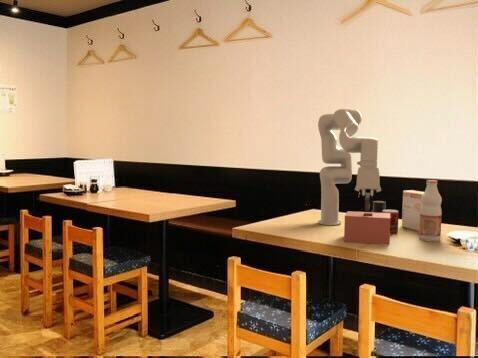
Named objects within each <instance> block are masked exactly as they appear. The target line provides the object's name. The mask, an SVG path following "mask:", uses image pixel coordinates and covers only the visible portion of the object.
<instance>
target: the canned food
mask: <svg viewBox="0 0 478 358" xmlns="http://www.w3.org/2000/svg"><path fill="white" fill-rule="evenodd" d="M383 213H390V235H391V234H392V235H393V234H394V235H395V234H398V231H399V210H397V209H385V210H383Z"/></svg>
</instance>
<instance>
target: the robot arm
mask: <svg viewBox="0 0 478 358" xmlns="http://www.w3.org/2000/svg"><path fill="white" fill-rule="evenodd" d="M362 117H363V116H362V113H361V112H360V110H358V109H356V108H355V109H354V108H353V109H352V108H340V109H337V110H335V111H334V112H333V113H325V114H323V115H320V117H319V119H318V121H317V127H318V132H319V135H320V141H321V143H320V144H321V159H322V162H323V163H324V164H327V165H329V166H324V167H321V169H320V171H319V178H320V185H321V186H320V187H321V188H320V190H321V191H320V192H321V194H320V197H321V198H320V203H321V204H320V219H319V220H318V221H317V223H318V224H319V225H324V226H338V225H341V224H342V221H341V220H339V208H340V207H339V205H340V204H339V202H340V199H339V198H340V197H339V196H340V193H339V192H340V191H339V189H338V188H337V186H336V185H337V184H349V183H350V182H351V181H352V178H353V177H352V175H353V170H352V169H353V168H352V167H353V166H352V165H353V163H352V154H360V157H359V158H360V160H359V161H357V162H356V164H357V165H358V168H357V174H356V185H355V188H354V191H357V192H359V193H360V194H361V196H362V203H363V204H364V205H365V195H366V190H370V205H371V204H372V203H373V198H374V197H373V196H375V195H376V193H379V192H381V191H382V188H381V185H380V184H381V183H380V169H379V167H378V145H379V143H378V142H379V140H378V139H377V138H375V137H369V136H368V137H367V136H354V135H355V134H356V133H357V132H358V129H359V125H361V122H362ZM333 130H334V131H335V130H336V131H339V130H340V132H339V134H338V137H337V136H336V134H335V132H334V131H333ZM338 143H339V144H340V146H338ZM330 165H333V166H330ZM337 165H338V166H337ZM339 165H340V166H339Z"/></svg>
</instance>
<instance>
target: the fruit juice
mask: <svg viewBox="0 0 478 358" xmlns="http://www.w3.org/2000/svg"><path fill="white" fill-rule="evenodd" d="M425 182H426V183H425V184H426V187H425V190H424V191H423V192H424V194H423V195H422V196H421V203H422V206H421V208H420V227H419V231H418V232H419V233H418V237H419V239H420V240H421V241H426V242H439V241H440V240H441V235H442V233H441V232H442V215H443V214H442V211H443V210H442V207H441V205H442V202H443V199H442V196H441V194H440V192H439V189H438V186H437V185H438V180H435V179H426V181H425Z"/></svg>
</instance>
